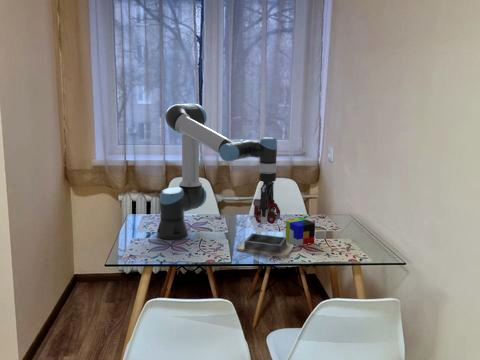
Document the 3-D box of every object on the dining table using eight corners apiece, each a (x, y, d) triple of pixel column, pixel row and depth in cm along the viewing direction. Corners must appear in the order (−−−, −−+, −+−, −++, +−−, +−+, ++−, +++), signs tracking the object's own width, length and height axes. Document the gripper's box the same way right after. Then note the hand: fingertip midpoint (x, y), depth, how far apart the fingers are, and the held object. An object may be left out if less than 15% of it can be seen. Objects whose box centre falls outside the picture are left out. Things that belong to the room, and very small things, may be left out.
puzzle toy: (297, 246, 211) (297, 226, 209) (285, 239, 220) (286, 220, 218) (314, 243, 216) (315, 223, 213) (302, 236, 224) (303, 217, 222)
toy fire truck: (279, 224, 200) (280, 202, 198) (252, 222, 202) (252, 200, 200) (280, 219, 207) (280, 198, 205) (253, 218, 209) (254, 196, 206)
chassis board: (236, 250, 205) (236, 241, 204) (245, 240, 218) (245, 231, 217) (287, 257, 197) (287, 247, 196) (294, 246, 210) (294, 237, 209)
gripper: (269, 176, 189) (268, 228, 194) (281, 168, 208) (279, 215, 213) (253, 175, 191) (252, 226, 196) (265, 167, 210) (264, 213, 215)
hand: (266, 220), depth 204 cm, fingers closed on toy fire truck, 7 cm apart
